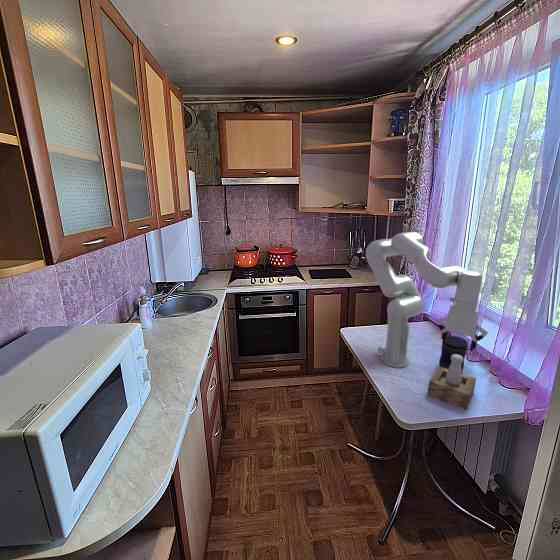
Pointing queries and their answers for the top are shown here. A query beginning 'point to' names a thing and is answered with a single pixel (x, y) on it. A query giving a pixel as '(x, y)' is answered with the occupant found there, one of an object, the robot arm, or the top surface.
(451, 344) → the storage jar
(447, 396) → the walnut open box
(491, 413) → the top surface
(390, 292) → the robot arm
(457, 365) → the salt shaker
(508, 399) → the top surface
